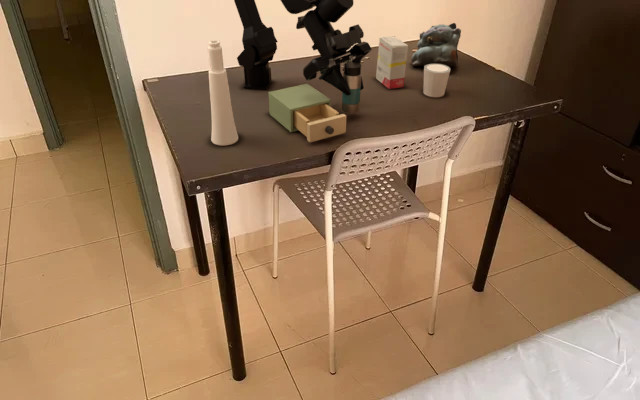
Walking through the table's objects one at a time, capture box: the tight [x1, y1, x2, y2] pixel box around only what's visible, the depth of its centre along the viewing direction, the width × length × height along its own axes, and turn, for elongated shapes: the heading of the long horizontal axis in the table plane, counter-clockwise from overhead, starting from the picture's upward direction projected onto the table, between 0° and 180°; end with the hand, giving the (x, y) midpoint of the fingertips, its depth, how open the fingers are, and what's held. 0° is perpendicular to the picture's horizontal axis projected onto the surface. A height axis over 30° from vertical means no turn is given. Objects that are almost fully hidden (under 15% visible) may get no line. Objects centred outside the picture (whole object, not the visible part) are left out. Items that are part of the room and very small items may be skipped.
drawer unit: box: [268, 83, 332, 133], centre depth 121 cm, size 11×11×6 cm
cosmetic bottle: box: [207, 39, 239, 147], centre depth 107 cm, size 6×6×22 cm
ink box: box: [375, 36, 409, 90], centre depth 138 cm, size 9×5×12 cm, turn 19°
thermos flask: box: [341, 62, 362, 114], centre depth 119 cm, size 4×4×11 cm
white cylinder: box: [422, 64, 451, 98], centre depth 134 cm, size 7×7×7 cm
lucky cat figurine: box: [410, 22, 462, 68], centre depth 150 cm, size 15×12×14 cm
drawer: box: [293, 103, 347, 143], centre depth 115 cm, size 12×10×4 cm
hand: (355, 92), depth 119 cm, fingers closed on thermos flask, 4 cm apart
